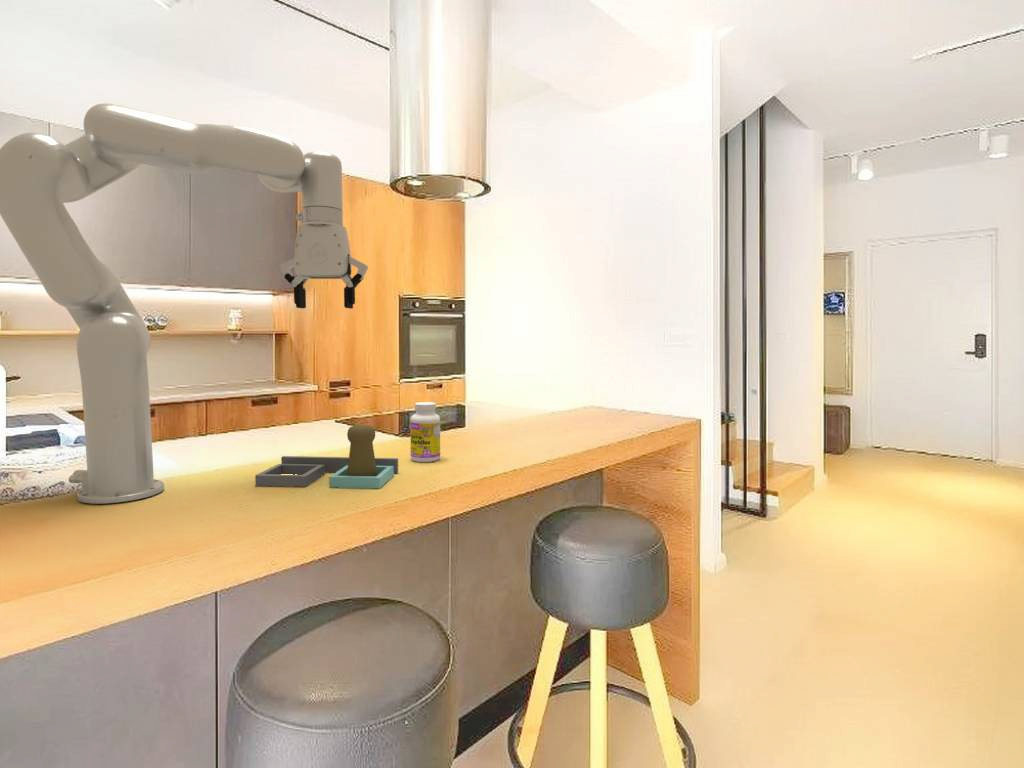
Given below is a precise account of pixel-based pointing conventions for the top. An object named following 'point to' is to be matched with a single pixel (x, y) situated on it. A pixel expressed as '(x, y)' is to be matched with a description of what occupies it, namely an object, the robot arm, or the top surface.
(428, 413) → the supplement bottle
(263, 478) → the panel
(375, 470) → the cork
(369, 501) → the top surface
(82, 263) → the robot arm
